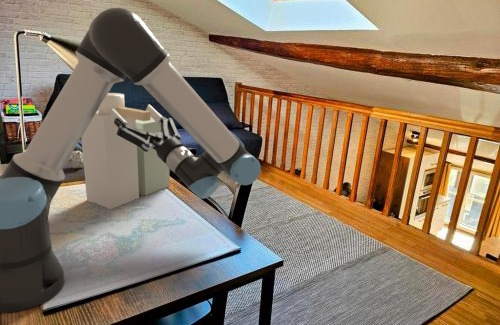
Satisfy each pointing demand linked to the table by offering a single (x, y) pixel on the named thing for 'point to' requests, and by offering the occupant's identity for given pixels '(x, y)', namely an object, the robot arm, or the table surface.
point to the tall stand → (109, 163)
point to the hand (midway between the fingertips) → (130, 110)
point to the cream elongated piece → (121, 108)
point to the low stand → (151, 163)
